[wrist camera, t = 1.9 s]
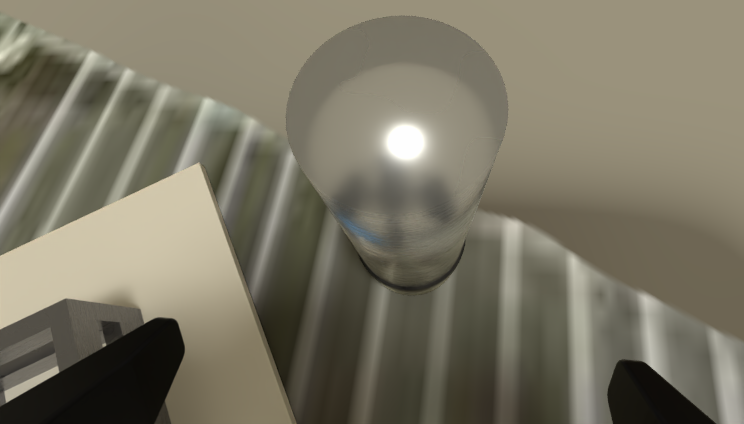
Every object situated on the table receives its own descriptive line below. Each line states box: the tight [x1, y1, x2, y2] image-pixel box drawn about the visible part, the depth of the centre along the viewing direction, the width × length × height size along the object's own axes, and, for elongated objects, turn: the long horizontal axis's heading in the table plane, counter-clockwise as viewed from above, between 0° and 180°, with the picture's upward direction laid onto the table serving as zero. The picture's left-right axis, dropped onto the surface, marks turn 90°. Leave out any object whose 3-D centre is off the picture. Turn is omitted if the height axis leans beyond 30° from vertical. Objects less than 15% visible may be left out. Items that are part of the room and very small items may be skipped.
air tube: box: [286, 16, 508, 296], centre depth 15 cm, size 5×5×13 cm
